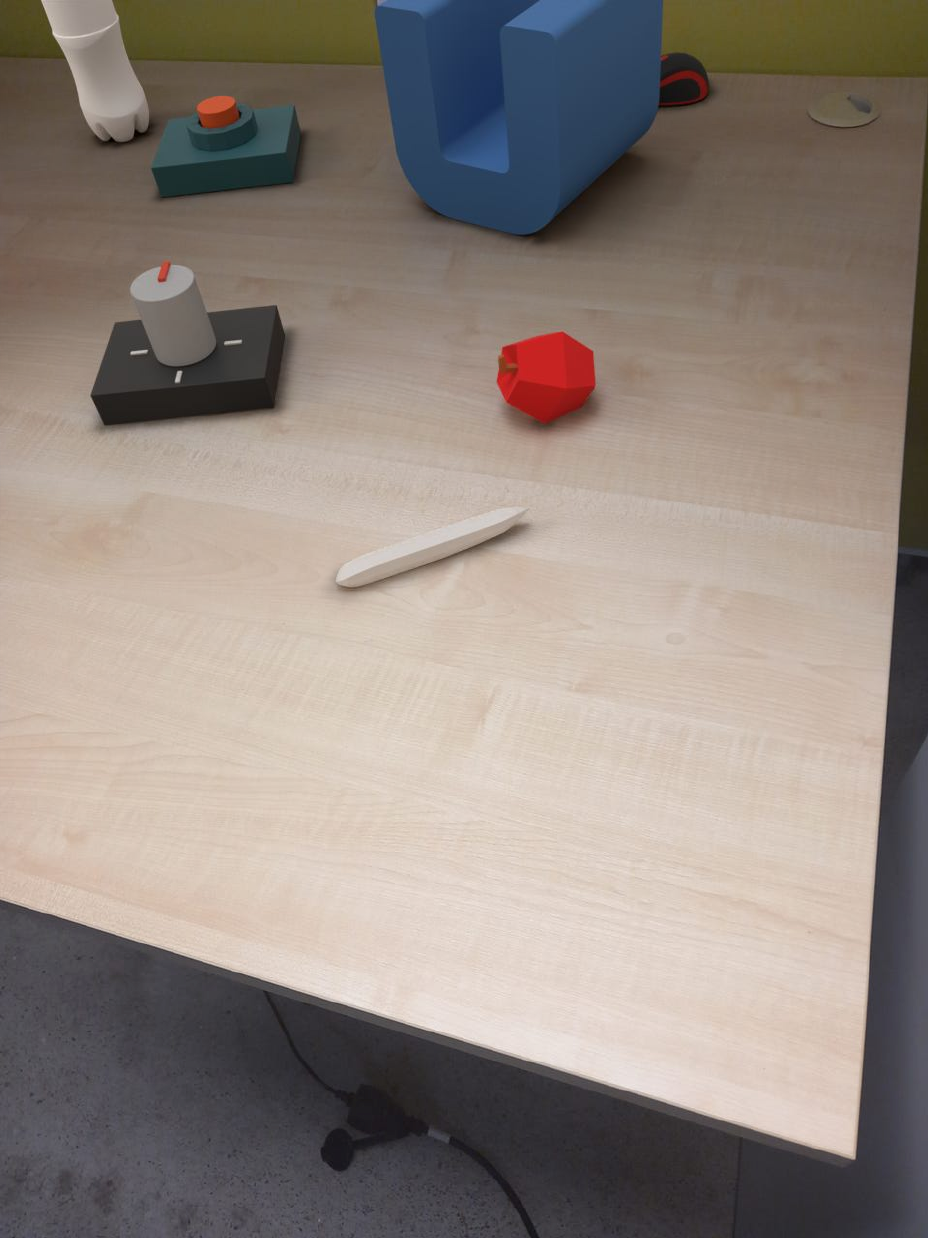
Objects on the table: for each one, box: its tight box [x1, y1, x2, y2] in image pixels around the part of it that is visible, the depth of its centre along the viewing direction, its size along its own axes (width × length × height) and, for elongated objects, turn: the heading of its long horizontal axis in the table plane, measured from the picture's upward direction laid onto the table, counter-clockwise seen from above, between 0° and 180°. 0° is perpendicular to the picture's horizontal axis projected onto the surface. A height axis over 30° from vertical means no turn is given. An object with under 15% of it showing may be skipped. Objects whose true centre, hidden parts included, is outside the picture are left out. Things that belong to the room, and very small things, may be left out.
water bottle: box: [40, 0, 150, 143], centre depth 108 cm, size 7×7×25 cm
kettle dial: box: [129, 261, 216, 367], centre depth 81 cm, size 5×5×6 cm
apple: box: [496, 331, 597, 425], centre depth 76 cm, size 7×7×8 cm
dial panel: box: [90, 304, 286, 426], centre depth 84 cm, size 14×10×3 cm
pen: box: [335, 506, 530, 588], centre depth 69 cm, size 2×14×2 cm, turn 111°
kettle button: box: [196, 95, 240, 129], centre depth 106 cm, size 4×4×2 cm
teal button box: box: [150, 102, 302, 198], centre depth 108 cm, size 14×11×5 cm
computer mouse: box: [658, 51, 710, 108], centre depth 108 cm, size 6×11×4 cm, turn 97°
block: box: [374, 0, 664, 236], centre depth 94 cm, size 18×18×18 cm
